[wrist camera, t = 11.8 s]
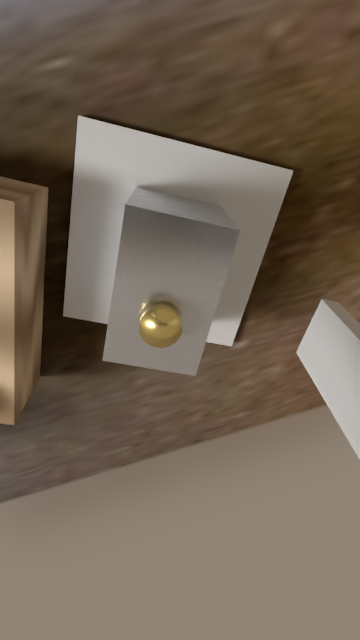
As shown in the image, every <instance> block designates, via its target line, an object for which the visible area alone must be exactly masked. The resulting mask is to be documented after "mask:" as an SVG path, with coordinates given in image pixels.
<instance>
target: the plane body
mask: <svg viewBox="0 0 360 640" xmlns="http://www.w3.org/2000/svg"><path fill="white" fill-rule="evenodd" d="M47 209H48V187H45V186H40V185H36V184H31V183H27V182H23V181H18V180H14V179H9V178H5V177H0V423H2V424H9V425H15V423H16V421H17V419H18V417H19V415H20V414H21V412H22V410H23V408H24V406H25V404H26V402H27V400H28V398H29V397H30V395H31V393H32V391H33V389H34V387H35V385H36V383H37V382H38V380H39V378H40V367H41V344H42V322H43V299H44V277H45V254H46V232H47Z"/></svg>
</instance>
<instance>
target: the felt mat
mask: <svg viewBox="0 0 360 640" xmlns="http://www.w3.org/2000/svg"><path fill="white" fill-rule="evenodd" d="M292 174H293V170H289V169H285V168H281V167H278V166H274V165H270V164H266V163H262V162H258V161H254V160H250V159H246V158H242V157H239V156H235V155H231V154H227V153H223V152H219V151H215V150H211V149H207V148H203V147H200V146H196V145H192V144H188V143H184V142H180V141H176V140H172V139H168V138H164V137H161V136H157V135H153V134H149V133H145V132H141V131H137V130H133V129H129V128H125V127H122V126H118V125H114V124H110V123H106V122H102V121H98V120H94V119H90V118H86V117H83V116H78V124H77V137H76V151H75V164H74V177H73V190H72V203H71V217H70V230H69V243H68V256H67V270H66V283H65V296H64V309H63V316H65V317H70V318H76V319H82V320H87V321H93V322H98V323H104V324H108V319H109V312H110V305H111V298H112V292H113V285H114V278H115V271H116V264H117V258H118V251H119V244H120V237H121V230H122V223H123V217H124V210H125V204H126V202H127V201H128V199H129V198H130V196H131V194H132V193H133V191H134V190H135V188H136V186H140V187H144V188H148V189H152V190H157V191H161V192H165V193H170V194H174V195H178V196H182V197H187V198H191V199H195V200H199V201H204V202H208V203H212V204H216V205H221V206H222V207H223V209H224V210H225V211H226V213H227V214H228V215H229V216H230V218H231V219H232V220H233V222H234V223H235V224H236V225H237V227H238V228H239V229H240V233H239V236H238V239H237V243H236V246H235V249H234V252H233V256H232V259H231V262H230V265H229V269H228V272H227V275H226V278H225V282H224V285H223V288H222V291H221V295H220V298H219V301H218V304H217V308H216V311H215V314H214V317H213V321H212V324H211V327H210V330H209V334H208V337H207V340H206V342H210V343H216V344H221V345H227V346H232V344H233V341H234V339H235V336H236V333H237V330H238V327H239V324H240V322H241V319H242V316H243V313H244V310H245V307H246V304H247V302H248V299H249V296H250V293H251V290H252V287H253V285H254V282H255V279H256V276H257V273H258V270H259V268H260V265H261V262H262V259H263V256H264V253H265V250H266V248H267V245H268V242H269V239H270V236H271V233H272V231H273V228H274V225H275V222H276V219H277V216H278V213H279V211H280V208H281V205H282V202H283V199H284V196H285V194H286V191H287V188H288V185H289V182H290V179H291V177H292Z"/></svg>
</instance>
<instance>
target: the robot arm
mask: <svg viewBox="0 0 360 640" xmlns="http://www.w3.org/2000/svg"><path fill="white" fill-rule="evenodd" d="M296 353H297V355H298V356H299V358H300V360H301V361H302V363H303V365H304V367H305V368H306V370H307V372H308V373H309V375H310V377H311V378H312V380H313V382H314V383H315V385H316V387H317V388H318V390H319V392H320V394H321V395H322V397H323V399H324V400H325V402H326V404H327V405H328V407H329V409H330V410H331V412H332V414H333V416H334V417H335V419H336V421H337V422H338V424H339V425H340V427H341V429H342V431H343V432H344V434H345V436H346V437H347V439H348V441H349V442H350V444H351V446H352V447H353V449H354V451H355V453H356V454H357V456H358V458H359V459H360V324H359V323H358V322H357V321H356V320H355V319H354V318H353V317H352V316H351V315H350V314H349V313H348V312H347V311H346V310H345V309H344V308H343V307H342V306H341V305H340V304H339V303H338V302H334V301H329V300H324V299H321V301H320V303H319V306H318V308H317V310H316V312H315V314H314V316H313V318H312V320H311V322H310V325H309V327H308V329H307V331H306V333H305V335H304V337H303V339H302V341H301V343H300V346H299V348H298V350H297V352H296Z"/></svg>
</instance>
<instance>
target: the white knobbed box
mask: <svg viewBox="0 0 360 640" xmlns="http://www.w3.org/2000/svg"><path fill="white" fill-rule="evenodd" d="M239 233H240V229H239V228H238V227H237V225H236V224H235V223H234V222H233V220H232V219H231V218H230V216H229V215H228V214H227V213H226V211H225V210H224V209H223V207H222V206H221V205H216V204H212V203H208V202H204V201H199V200H195V199H191V198H187V197H182V196H178V195H174V194H170V193H165V192H161V191H157V190H152V189H148V188H144V187H140V186H136V188H135V190H134V191H133V193H132V194H131V196H130V198H129V199H128V201H127V202H126V204H125V210H124V217H123V223H122V230H121V237H120V244H119V251H118V258H117V264H116V271H115V278H114V285H113V292H112V298H111V305H110V312H109V319H108V326H107V333H106V339H105V346H104V353H103V360H102V361H108V362H114V363H120V364H126V365H132V366H138V367H145V368H151V369H157V370H163V371H169V372H175V373H181V374H187V375H193V376H196V373H197V369H198V366H199V363H200V360H201V356H202V353H203V350H204V347H205V343H206V340H207V337H208V334H209V330H210V327H211V324H212V321H213V317H214V314H215V311H216V308H217V304H218V301H219V298H220V295H221V291H222V288H223V285H224V282H225V278H226V275H227V272H228V269H229V265H230V262H231V259H232V256H233V252H234V249H235V246H236V243H237V239H238V236H239Z"/></svg>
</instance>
